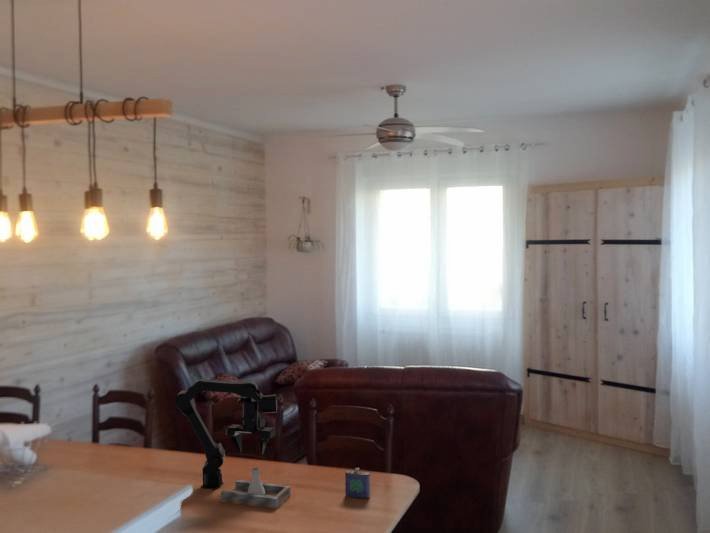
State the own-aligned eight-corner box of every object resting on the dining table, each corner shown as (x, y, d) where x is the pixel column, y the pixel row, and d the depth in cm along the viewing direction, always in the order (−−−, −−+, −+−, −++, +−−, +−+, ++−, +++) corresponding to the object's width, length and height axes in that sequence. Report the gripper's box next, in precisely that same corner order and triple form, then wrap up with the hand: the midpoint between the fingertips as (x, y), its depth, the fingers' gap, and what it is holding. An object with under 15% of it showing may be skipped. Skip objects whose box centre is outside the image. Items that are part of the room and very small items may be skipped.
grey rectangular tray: (221, 501, 229) (221, 492, 229) (237, 489, 241) (237, 479, 241) (276, 508, 222) (276, 499, 222) (290, 495, 234) (290, 486, 234)
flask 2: (370, 496, 232) (370, 467, 231) (368, 499, 229) (368, 470, 229) (346, 494, 235) (346, 465, 234) (344, 497, 232) (343, 468, 231)
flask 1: (262, 500, 227) (261, 473, 227) (243, 499, 229) (242, 472, 228) (268, 492, 234) (268, 465, 234) (249, 491, 236) (249, 464, 235)
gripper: (281, 409, 249) (282, 448, 250) (239, 406, 255) (240, 444, 255) (268, 417, 238) (269, 458, 239) (224, 413, 244) (225, 453, 245)
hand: (251, 453), depth 245 cm, fingers open, 9 cm apart
